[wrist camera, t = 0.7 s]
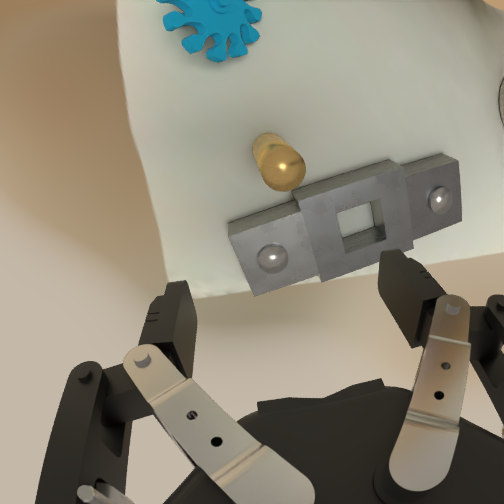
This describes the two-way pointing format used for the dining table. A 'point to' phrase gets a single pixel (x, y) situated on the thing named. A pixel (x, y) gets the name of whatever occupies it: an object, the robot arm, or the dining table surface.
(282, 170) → the pin
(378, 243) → the grey block with hole
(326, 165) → the dining table surface
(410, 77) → the dining table surface
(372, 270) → the dining table surface
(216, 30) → the gear
